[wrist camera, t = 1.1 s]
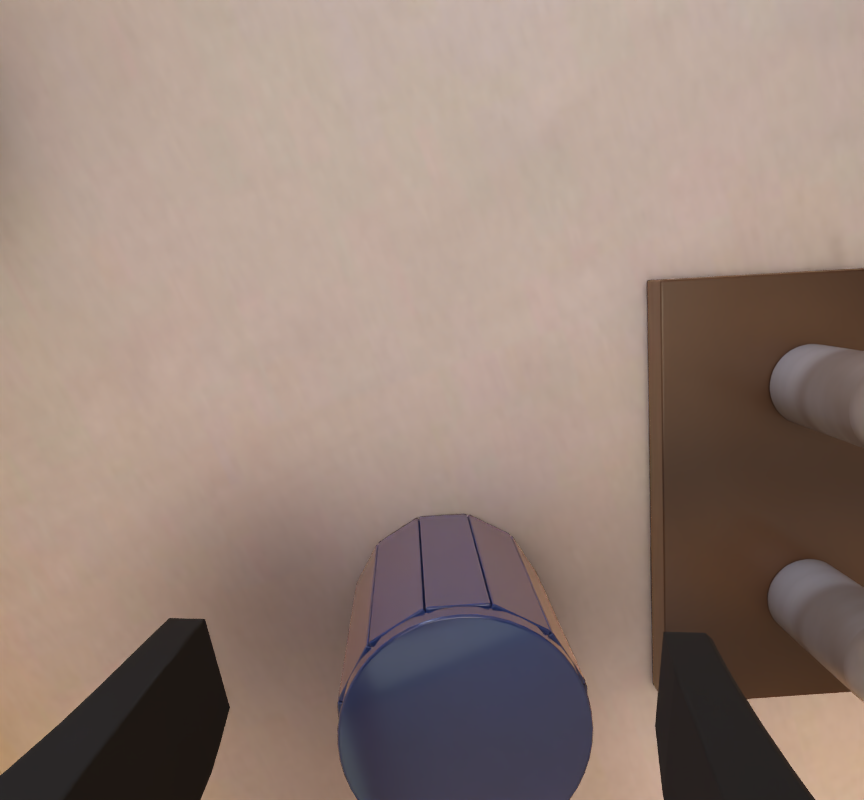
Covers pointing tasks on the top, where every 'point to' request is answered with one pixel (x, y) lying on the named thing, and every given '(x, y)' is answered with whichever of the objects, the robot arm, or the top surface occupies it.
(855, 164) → the top surface
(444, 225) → the top surface
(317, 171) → the top surface
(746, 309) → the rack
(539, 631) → the blue ribbed canister
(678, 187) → the top surface
